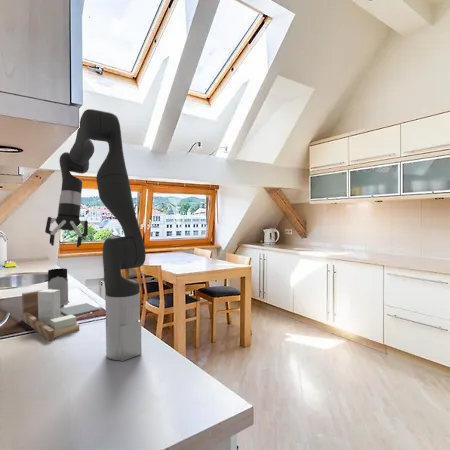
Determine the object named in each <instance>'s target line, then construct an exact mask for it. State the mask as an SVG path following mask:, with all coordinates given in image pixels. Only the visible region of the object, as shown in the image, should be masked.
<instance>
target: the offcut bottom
mask: <svg viewBox="0 0 450 450" xmlns="http://www.w3.org/2000/svg"><path fill="white" fill-rule="evenodd" d="M49 327H50V326H49ZM50 328H51V327H50ZM52 329H53V328H52ZM53 330H54V329H53ZM78 331H80V323H78V322H77V324H76V325H72V326H68V327H64V328H60V329H56V330H54V338H55V337H59V336H64V335H67V334H70V333H74V332H78Z"/></svg>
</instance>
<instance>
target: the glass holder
mask: <svg viewBox="0 0 450 450" xmlns="http://www.w3.org/2000/svg"><path fill="white" fill-rule="evenodd" d="M47 289H53V290H60V307H61V306H62V305H63V306H67V305H68V303H69V304H70V301H69V279H68V268H53V269H48V270H47Z"/></svg>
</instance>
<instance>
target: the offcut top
mask: <svg viewBox="0 0 450 450" xmlns="http://www.w3.org/2000/svg"><path fill="white" fill-rule="evenodd" d="M77 320H78V318H77V315H76V316H74V315H67V316H66V315H65V316H61V317H59V318H55V319H50V325H49V327H51V328H53V329H54V330H56V329H60V328H64V327H68V326H72V325H76V324H77V323H78V321H77Z"/></svg>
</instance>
